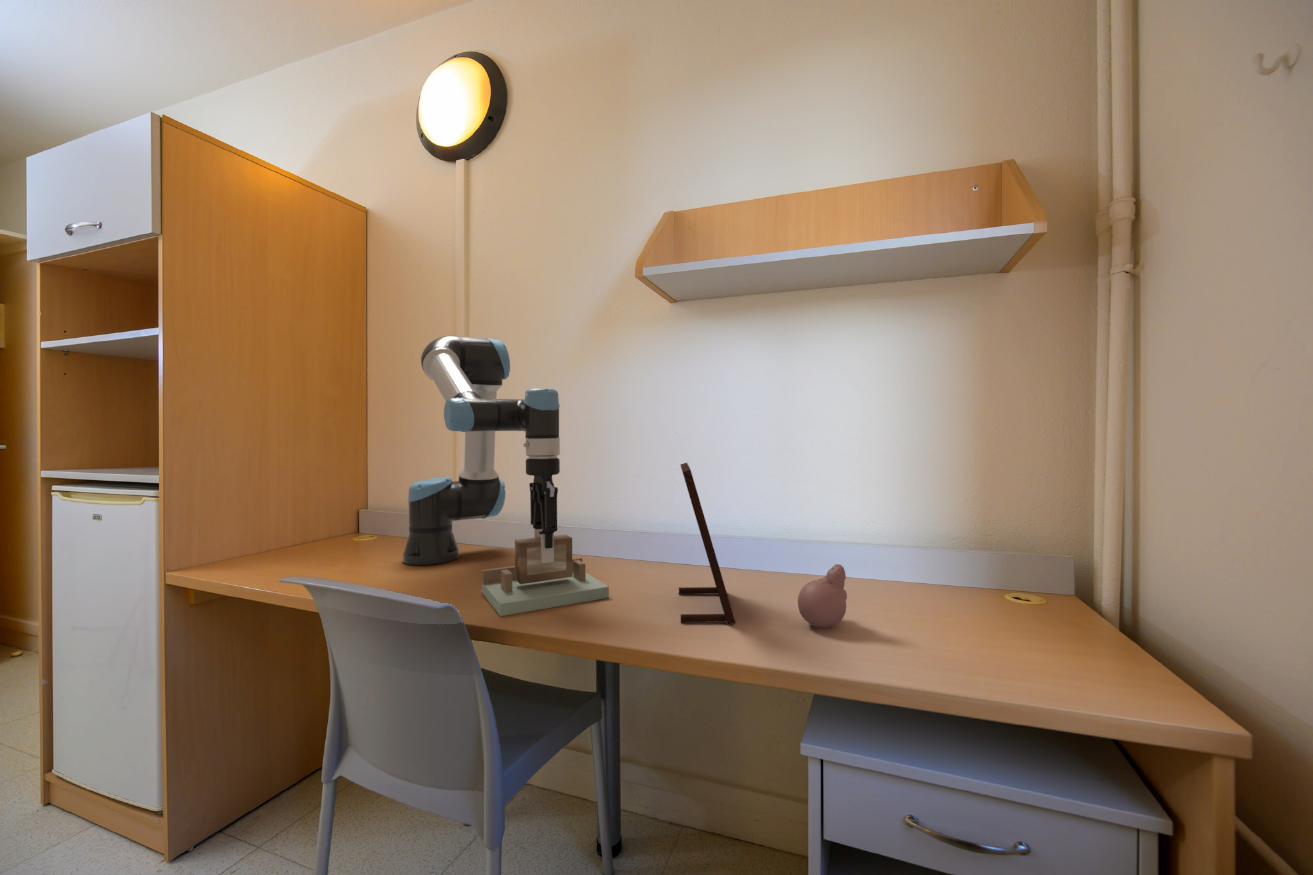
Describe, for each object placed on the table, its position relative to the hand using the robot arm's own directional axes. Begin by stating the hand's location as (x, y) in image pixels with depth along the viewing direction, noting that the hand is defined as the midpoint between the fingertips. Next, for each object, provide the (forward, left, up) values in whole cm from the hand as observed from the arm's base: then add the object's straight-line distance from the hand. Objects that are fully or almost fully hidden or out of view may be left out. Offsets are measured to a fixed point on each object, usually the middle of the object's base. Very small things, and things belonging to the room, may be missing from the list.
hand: (543, 559), depth 127 cm
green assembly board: (0, 0, -8) cm, 8 cm away
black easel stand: (+25, +27, -9) cm, 38 cm away
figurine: (+45, +41, -9) cm, 61 cm away
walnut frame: (0, 0, -4) cm, 4 cm away
